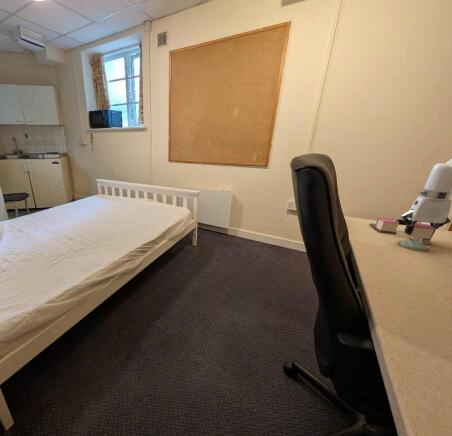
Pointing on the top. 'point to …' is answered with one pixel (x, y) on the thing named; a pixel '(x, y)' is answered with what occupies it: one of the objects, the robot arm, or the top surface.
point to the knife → (401, 221)
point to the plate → (413, 245)
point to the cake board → (381, 230)
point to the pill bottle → (422, 240)
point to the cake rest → (387, 225)
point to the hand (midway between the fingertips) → (417, 234)
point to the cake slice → (422, 231)
